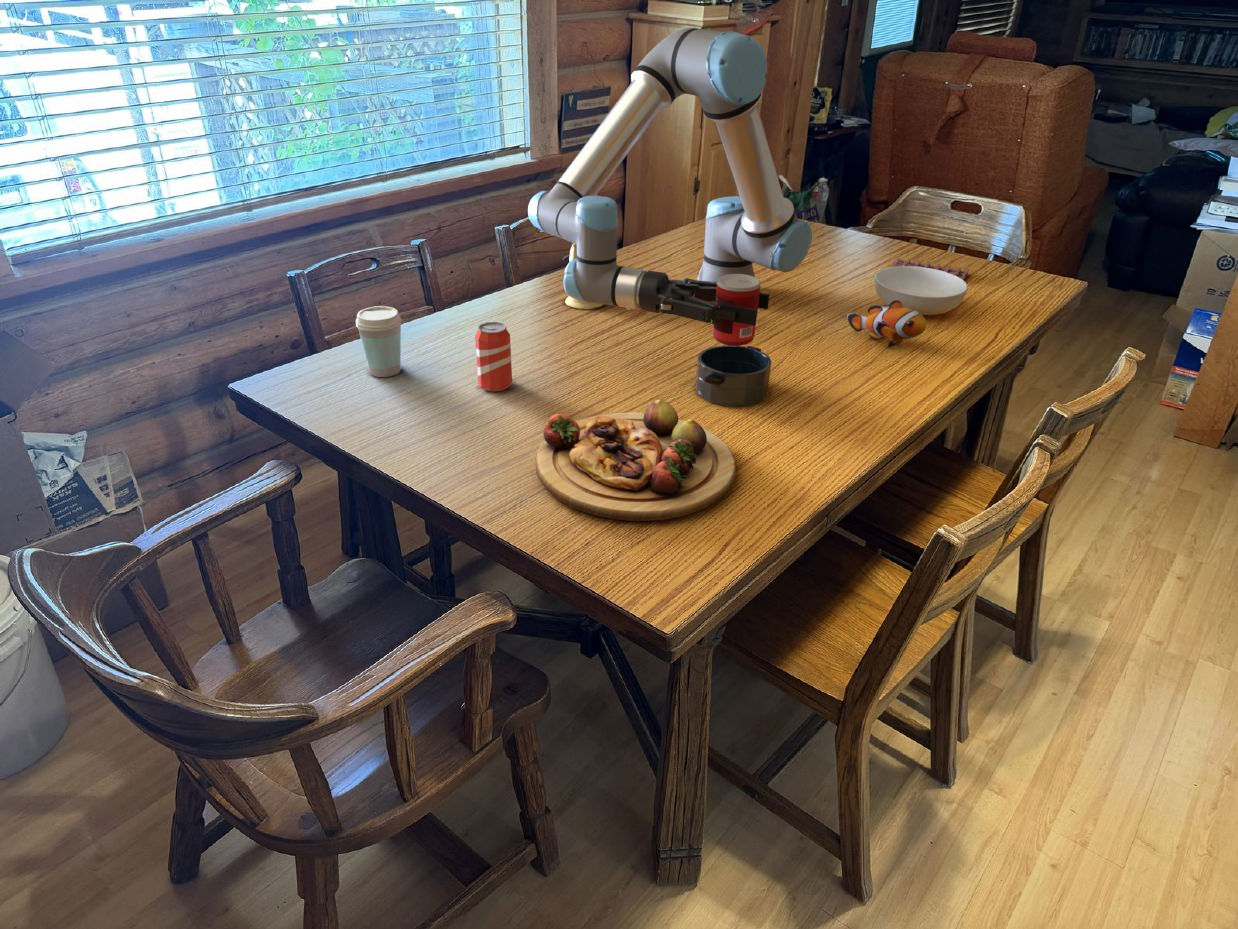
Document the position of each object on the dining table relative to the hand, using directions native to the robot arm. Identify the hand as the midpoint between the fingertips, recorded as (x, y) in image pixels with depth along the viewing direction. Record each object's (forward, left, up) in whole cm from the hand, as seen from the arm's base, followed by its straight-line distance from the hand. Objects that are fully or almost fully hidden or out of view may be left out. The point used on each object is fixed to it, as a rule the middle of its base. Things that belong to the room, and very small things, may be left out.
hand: (762, 309), depth 156 cm
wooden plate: (-4, -36, -17) cm, 40 cm away
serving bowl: (+12, +64, -17) cm, 68 cm away
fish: (+12, +39, -17) cm, 45 cm away
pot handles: (-4, -1, -12) cm, 13 cm away
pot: (-4, -1, -17) cm, 17 cm away
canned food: (-5, -1, -7) cm, 8 cm away
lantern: (-54, +22, -17) cm, 61 cm away
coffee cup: (-64, -32, -17) cm, 74 cm away
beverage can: (-42, -25, -17) cm, 52 cm away
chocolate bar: (+7, +92, -17) cm, 94 cm away
